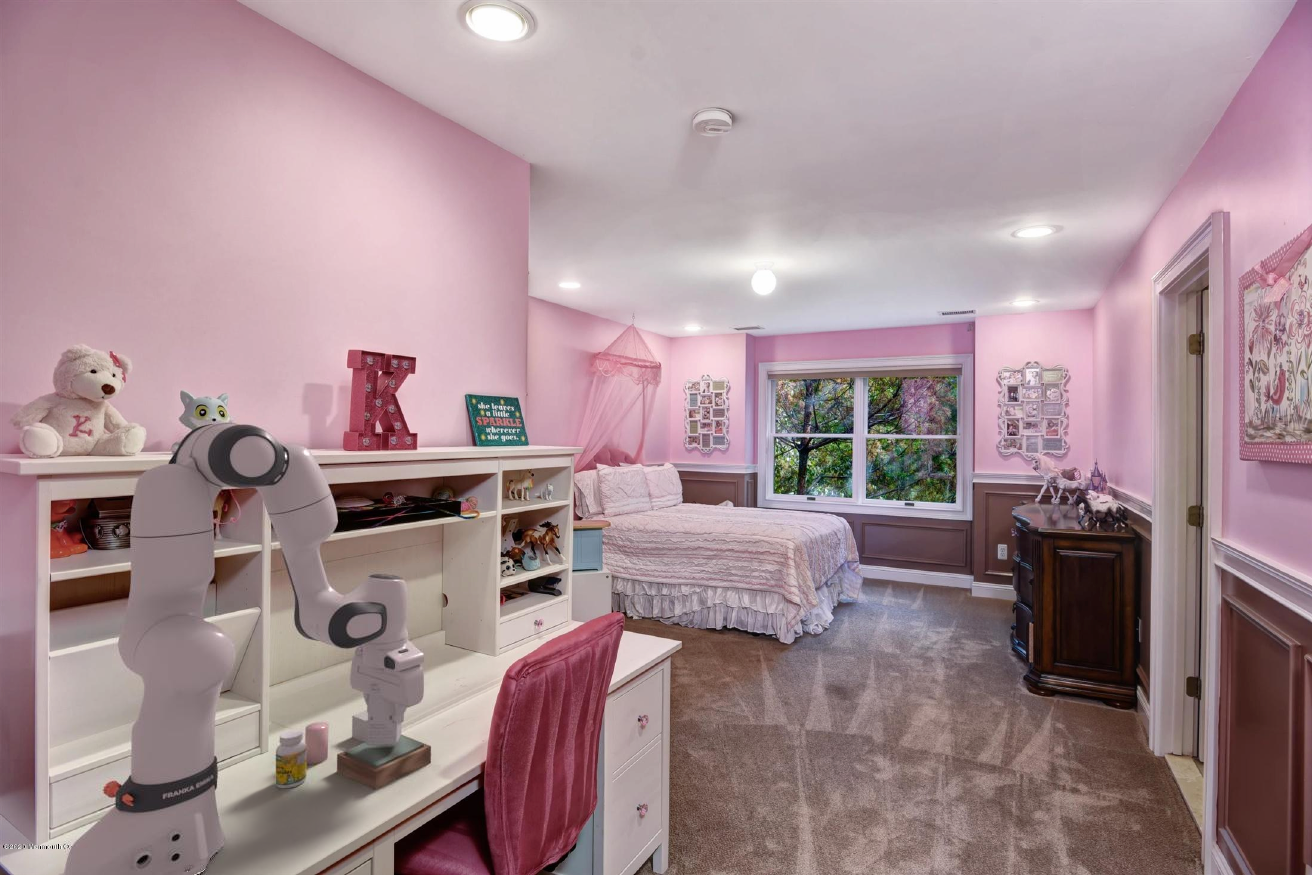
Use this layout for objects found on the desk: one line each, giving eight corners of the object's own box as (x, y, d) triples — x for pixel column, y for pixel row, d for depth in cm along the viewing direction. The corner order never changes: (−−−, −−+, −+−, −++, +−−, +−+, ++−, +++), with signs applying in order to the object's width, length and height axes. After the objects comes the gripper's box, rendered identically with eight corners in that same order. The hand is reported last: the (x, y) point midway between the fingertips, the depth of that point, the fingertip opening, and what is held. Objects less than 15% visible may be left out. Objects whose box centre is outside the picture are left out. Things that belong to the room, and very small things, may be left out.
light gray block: (365, 742, 148) (365, 720, 148) (352, 737, 151) (352, 715, 151) (384, 734, 152) (385, 713, 152) (371, 729, 155) (372, 708, 155)
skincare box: (366, 745, 134) (366, 686, 134) (372, 736, 139) (373, 678, 139) (397, 744, 135) (398, 685, 135) (403, 734, 140) (403, 677, 140)
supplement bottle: (312, 776, 133) (313, 729, 133) (292, 790, 127) (293, 740, 127) (289, 774, 134) (289, 726, 134) (268, 787, 128) (269, 738, 129)
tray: (375, 789, 128) (375, 768, 128) (336, 771, 135) (337, 751, 135) (430, 762, 139) (430, 743, 139) (392, 746, 146) (392, 728, 146)
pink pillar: (314, 766, 137) (315, 732, 137) (299, 761, 139) (300, 728, 139) (332, 756, 141) (333, 724, 141) (317, 752, 143) (318, 720, 143)
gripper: (342, 646, 140) (341, 711, 140) (403, 664, 129) (402, 735, 129) (369, 639, 145) (368, 701, 145) (429, 656, 134) (429, 723, 134)
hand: (385, 717), depth 137 cm, fingers closed on skincare box, 7 cm apart
